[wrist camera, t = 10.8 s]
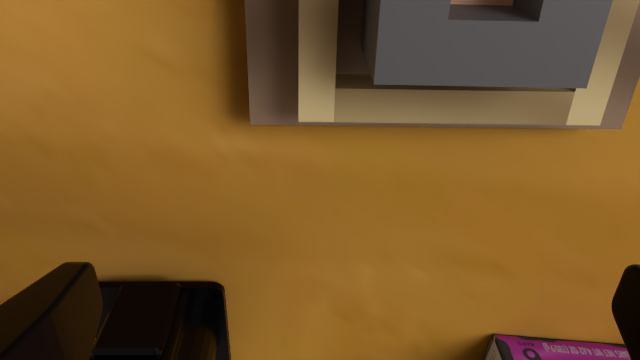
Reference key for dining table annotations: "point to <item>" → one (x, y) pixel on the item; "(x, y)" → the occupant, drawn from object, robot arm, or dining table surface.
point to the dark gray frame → (483, 42)
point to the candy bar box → (551, 349)
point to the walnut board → (414, 100)
